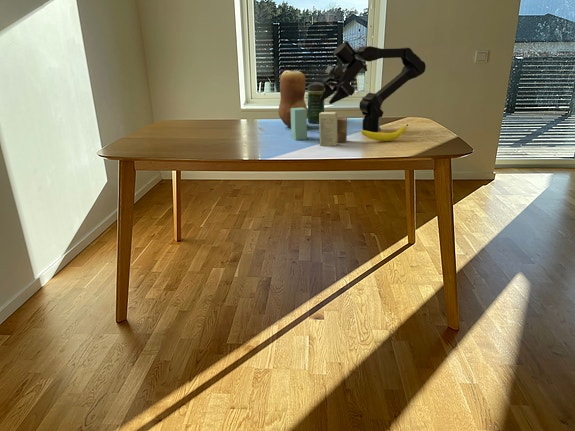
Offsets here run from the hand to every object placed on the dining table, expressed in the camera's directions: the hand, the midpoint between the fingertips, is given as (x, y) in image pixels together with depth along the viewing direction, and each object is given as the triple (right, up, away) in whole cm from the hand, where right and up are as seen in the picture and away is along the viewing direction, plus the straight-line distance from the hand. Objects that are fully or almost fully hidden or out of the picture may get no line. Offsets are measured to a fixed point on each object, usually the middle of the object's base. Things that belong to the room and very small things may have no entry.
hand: (324, 102), depth 172 cm
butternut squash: (-13, -6, +23) cm, 27 cm away
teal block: (-10, -14, +2) cm, 18 cm away
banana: (+22, -18, -7) cm, 29 cm away
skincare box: (+1, -19, -9) cm, 21 cm away
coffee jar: (-1, -1, +33) cm, 34 cm away
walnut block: (+6, -17, -5) cm, 19 cm away
